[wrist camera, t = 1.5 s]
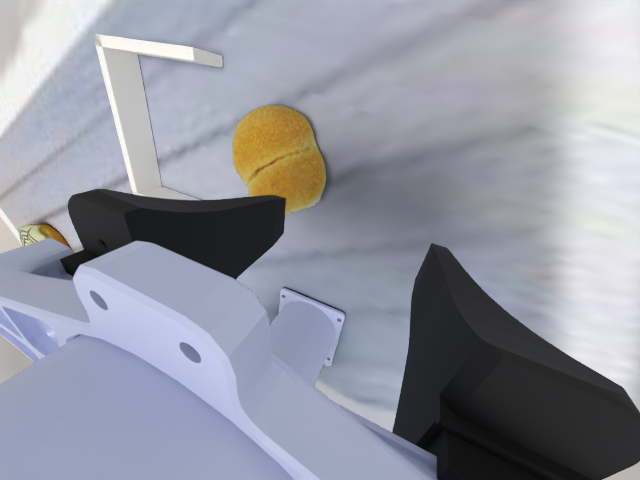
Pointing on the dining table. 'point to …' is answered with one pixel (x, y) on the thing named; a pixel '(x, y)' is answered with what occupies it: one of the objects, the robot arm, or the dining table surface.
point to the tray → (140, 104)
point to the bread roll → (279, 157)
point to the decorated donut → (39, 234)
